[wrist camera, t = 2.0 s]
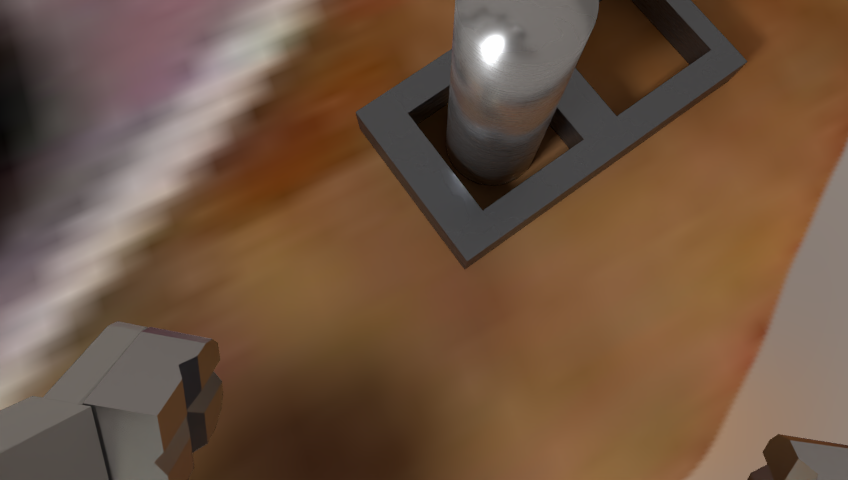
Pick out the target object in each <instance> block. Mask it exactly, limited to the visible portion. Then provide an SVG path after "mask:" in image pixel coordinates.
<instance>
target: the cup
mask: <svg viewBox="0 0 848 480" xmlns="http://www.w3.org/2000/svg"><path fill="white" fill-rule="evenodd" d="M598 10H599V0H455V15H454V30H453V44H452V59H451V74H450V88H449V103H448V118H447V133H446V148H447V153H448V156H449V158H450V160H451V163H452V164H453V166H454V167H455V168H456V169H457V170H458V172H460V173H461V174H462V175H463V176H464V177H466V178H467V179H469V180H471V181H473V182H476V183H479V184H484V185H501V184H505V183H508V182H511V181H513V180H515V179H517V178H518V177H520V176H521V175H522V174H523V173H524V172H525V171H526V170H527V169H528V168H529V166H530V165H531V163H532V161H533V159H534V157H535V155H536V152H537V150H538V148H539V146H540V144H541V141H542V139H543V137H544V135H545V133H546V130H547V128H548V126H549V124H550V122H551V119H552V117H553V115H554V113H555V111H556V108H557V106H558V104H559V102H560V100H561V97H562V95H563V93H564V91H565V89H566V86H567V84H568V82H569V80H570V78H571V75H572V73H573V71H574V69H575V67H576V64H577V62H578V60H579V58H580V56H581V53H582V51H583V49H584V47H585V45H586V43H587V40H588V38H589V36H590V34H591V32H592V29H593V27H594V25H595V22H596V19H597V15H598Z"/></svg>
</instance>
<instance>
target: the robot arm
mask: <svg viewBox="0 0 848 480" xmlns="http://www.w3.org/2000/svg"><path fill="white" fill-rule="evenodd" d="M219 361H220V354H219V347H218V342H216V341H214V340H213V339H209V338H204V337H199V336H194V335H189V334H184V333H178V332H173V331H168V330H163V329H158V328H153V327H149V328H148V327H143V326H138V325H133V324H128V323H123V322H116V323H113V324H111V325H109V326H108V327H106V328H105V330H104V331H103V332H102V333H101V334H100V335H99V336H98V337H97V338H96V339H95V341H94V342H93V343H92V344H91V345H90V346H89V347H88V348H87V349H86V350H85V352H84V353H83V354H82V355H81V356H80V357H79V358H78V359H77V360H76V361H75V363H74V364H73V365H72V366H71V367H70V368H69V369H68V370H67V371H66V372H65V374H64V375H63V376H62V377H61V378H60V379H59V380H58V381H57V382H56V383H55V385H54V386H53V387H52V388H51V389H50V390H49V391H48V392H47V393H46V395H45V396H44V397H43V398H42V397H35V396H31V397H29V398H27V399H25V400H23V401H20V402H18V403H16V404H14V405H11V406H9V407H7V408H5V409H3V410H0V480H188V478H189V477H190V475H191V473H192V471H193V469H194V462H193V454H192V453H193V452H194V451H196V450H198V449H199V448H201V447H202V446H204V445H206V444H207V443H208V442H209V440H210V438H211V436H212V434H213V432H214V430H215V428H216V425H217V422H218V419H219V415H220V412H221V409H222V400H223V386H222V381H221V380H220V379H219V377H218V376H217V375H216V374H215V373H214V369H215V367H216V366H217V364H218V362H219ZM763 454H764V457H765V459H766V462H767V465H765V466H764V467H761V468H760V469H758V470H756V471H754V472H752V473H751V474H750V476H749V478H748V480H848V445H843V444H836V443H830V442H824V441H818V440H811V439H805V438H798V437H793V436H786V435H780V434H778V435H777V436H775V437H774V438H772V439H771V440H770V441H769V442H768V444H767V446H766V447H765V449H764V451H763Z"/></svg>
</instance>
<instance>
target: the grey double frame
mask: <svg viewBox="0 0 848 480" xmlns="http://www.w3.org/2000/svg"><path fill="white" fill-rule="evenodd" d="M600 1H602V0H599V2H600ZM632 1H633V2H634V3H635V4H636V6H637V7H638V8H639V9H640V10H641V11H642V12H643V13H644V14H645V16H646V17H647V18H648V19H649V20H650V21H651V22H652V23H653V24H654V26H655V27H656V28H657V29H658V30H659V31H660V32H661V33H662V34H663V35H664V37H665V38H666V39H667V40H668V41H669V42H670V43H671V44H672V45H673V47H674V48H675V49H676V50H677V51H678V52H679V53H680V54H681V55H682V57H683V58H684V59H685V60H686V61H687V62H688V63H689V64H690V65H689V66H688V67H686V68H685V69H683V70H682V71H680V72H679V73H678V74H676V75H675V76H673V77H672V78H671V79H669V80H668V81H666V82H665V83H663V84H662V85H661V86H659V87H658V88H656V89H655V90H653V91H652V92H651V93H649V94H648V95H646V96H645V97H644V98H642V99H641V100H639V101H638V102H636V103H635V104H634V105H632V106H631V107H629V108H628V109H626V110H625V111H624V112H622V113H621V114H619V115H618V116H616V115H615V114H614V113H613V112H612V110H611V109H610V108H609V107H608V106H607V105H606V103H605V102H604V101H603V100H602V99H601V97H600V96H599V95H598V94H597V93H596V92H595V90H594V89H593V88H592V87H591V86H590V85H589V83H588V82H587V81H586V80H585V79H584V78H583V76H582V75H581V74H580V73H579V72H578V71H577V69H576V68H575V69H574V71H573V73H572V75H571V78H570V80H569V82H568V84H567V86H566V89H565V91H564V93H563V95H562V97H561V100H560V102H559V104H558V106H557V108H556V111H555V113H554V115H553V117H552V119H551V122H550V125H551V127H552V128H553V129H554V130H555V132H556V133H557V134H558V135H559V136H560V138H561V139H562V140H563V141H564V142H565V144H566V145H567V146H568V147H569V149H570V150H568V151H567V152H565V153H564V154H563V155H561V156H560V157H558V158H557V159H555V160H554V161H553V162H551V163H550V164H548V165H547V166H545V167H544V168H543V169H541V170H540V171H538V172H537V173H535V174H534V175H533V176H531V177H530V178H528V179H527V180H526V181H524V182H523V183H521V184H520V185H518V186H517V187H516V188H514V189H513V190H511V191H510V192H508V193H507V194H506V195H504V196H503V197H501V198H500V199H499V200H497V201H496V202H494V203H493V204H491V205H490V206H489V207H487V208H486V209H484V210H482V209H481V208H480V207H479V205H478V204H477V203H476V201H475V200H474V199H473V197H472V196H471V195H470V194H469V192H468V191H467V190H466V188H465V187H464V186H463V184H462V183H461V182H460V181H459V179H458V178H457V177H456V175H455V174H454V173H453V171H452V170H451V169H450V168H449V166H448V165H447V164H446V162H445V161H444V160H443V158H442V157H441V156H440V155H439V153H438V152H437V151H436V149H435V148H434V147H433V145H432V144H431V143H430V142H429V140H428V139H427V138H426V136H425V135H424V134H423V132H422V131H421V130H420V129H419V127H418V126H417V124H418V123H420V122H421V121H423V120H424V119H426V118H427V117H429V116H430V115H432V114H433V113H435V112H436V111H438V110H439V109H441V108H442V107H444V106H445V105H447V104H448V103H449V88H450V74H451V59H452V49H451V50H449V51H448V52H446V53H445V54H443V55H442V56H440V57H439V58H437V59H436V60H434V61H433V62H431V63H430V64H428V65H427V66H425V67H424V68H422V69H421V70H419V71H418V72H416V73H415V74H413V75H411V76H410V77H408V78H407V79H405V80H404V81H402V82H401V83H399V84H398V85H396V86H395V87H393V88H392V89H390V90H389V91H387V92H386V93H384V94H383V95H381V96H380V97H378V98H376V99H375V100H373V101H372V102H370V103H369V104H367V105H366V106H364V107H363V108H361V109H360V110H358V111H357V112H356V116H357V119H358V123H359V127H360V130H361V131H362V132H363V134H364V135H365V136H366V138H367V139H368V140H369V142H370V143H371V144H372V146H373V147H374V148H375V150H376V151H377V152H378V154H379V155H380V156H381V158H382V159H383V160H384V162H385V163H386V164H387V166H388V167H389V168H390V170H391V171H392V172H393V174H394V175H395V176H396V178H397V179H398V180H399V182H400V183H401V185H402V186H403V187H404V189H405V190H406V191H407V193H408V194H409V195H410V197H411V198H412V199H413V201H414V202H415V203H416V205H417V206H418V207H419V209H420V210H421V211H422V213H423V214H424V215H425V217H426V218H427V219H428V221H429V222H430V223H431V225H432V226H433V227H434V229H435V230H436V231H437V233H438V234H439V236H440V237H441V238H442V240H443V241H444V242H445V244H446V245H447V246H448V248H449V249H450V250H451V252H452V253H453V254H454V256H455V257H456V258H457V260H458V261H459V262H460V264H461V265H462V266H463V268H464V269H466V268H467V267H469V266H470V265H472V264H473V263H474V262H476V261H477V260H479V259H480V258H481V257H483V256H484V255H486V254H487V253H488V252H490V251H491V250H493V249H494V248H495V247H497V246H498V245H500V244H501V243H502V242H504V241H505V240H507V239H508V238H509V237H511V236H512V235H514V234H515V233H516V232H518V231H519V230H521V229H522V228H523V227H525V226H526V225H528V224H529V223H530V222H532V221H533V220H535V219H536V218H537V217H539V216H540V215H542V214H543V213H544V212H546V211H547V210H549V209H550V208H551V207H553V206H554V205H556V204H557V203H558V202H560V201H561V200H563V199H564V198H565V197H567V196H568V195H570V194H571V193H572V192H574V191H575V190H577V189H578V188H579V187H581V186H582V185H584V184H585V183H586V182H588V181H589V180H591V179H592V178H593V177H595V176H596V175H598V174H599V173H600V172H602V171H603V170H605V169H606V168H607V167H609V166H610V165H612V164H613V163H614V162H616V161H617V160H619V159H620V158H621V157H623V156H624V155H626V154H627V153H628V152H630V151H631V150H633V149H634V148H635V147H637V146H638V145H640V144H641V143H642V142H644V141H645V140H647V139H648V138H649V137H651V136H652V135H654V134H655V133H656V132H658V131H659V130H660V129H662V128H663V127H665V126H666V125H667V124H669V123H670V122H672V121H673V120H674V119H676V118H677V117H679V116H680V115H681V114H683V113H684V112H686V111H687V110H688V109H690V108H691V107H693V106H694V105H695V104H697V103H698V102H700V101H701V100H702V99H704V98H705V97H707V96H708V95H709V94H711V93H712V92H714V91H715V90H716V89H718V88H719V87H721V86H722V85H723V84H725V83H726V82H728V81H729V80H730V79H731V78H732V77H733V76H734V75H735V74H736V73H737V72H738V71H739V70H740V69H741V68H742V67H743V65H744V64H745V63H746V62H747V60H746V59H745V58H744V57H743V56H742V55H741V54H740V53H739V52H738V51H737V50H736V49H735V47H734V46H733V45H732V44H731V43H730V42H729V41H728V40H727V39H726V38H725V37H724V36H723V35H722V33H721V32H720V31H719V30H718V29H717V28H716V27H715V26H714V25H713V24H712V23H711V22H710V20H709V19H708V18H707V17H706V16H705V15H704V14H703V13H702V12H701V11H700V10H699V9H698V8H697V6H696V5H695V4H694V3H693V2H692V1H691V0H632Z"/></svg>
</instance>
